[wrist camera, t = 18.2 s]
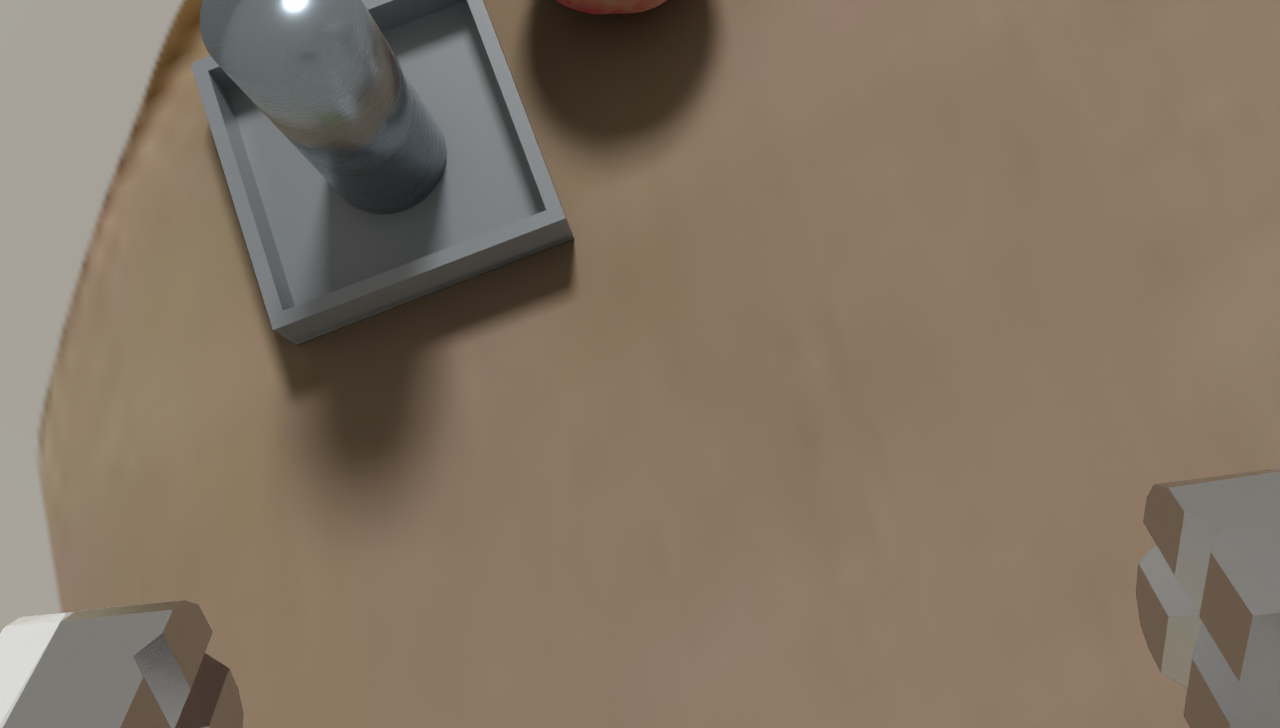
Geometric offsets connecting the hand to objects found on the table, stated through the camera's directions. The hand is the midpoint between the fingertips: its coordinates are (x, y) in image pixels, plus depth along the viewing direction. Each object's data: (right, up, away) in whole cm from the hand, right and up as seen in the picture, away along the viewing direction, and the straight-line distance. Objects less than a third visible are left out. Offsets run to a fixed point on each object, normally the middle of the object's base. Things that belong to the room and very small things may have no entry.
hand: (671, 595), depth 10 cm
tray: (-11, +11, +39) cm, 42 cm away
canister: (-11, +11, +39) cm, 41 cm away
